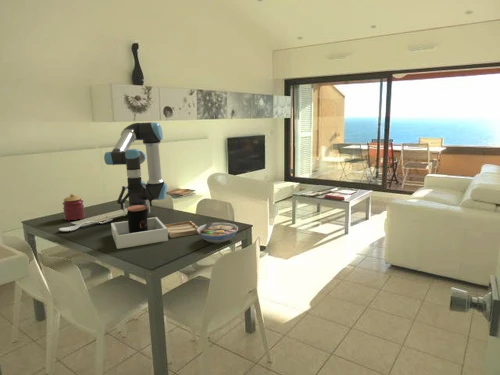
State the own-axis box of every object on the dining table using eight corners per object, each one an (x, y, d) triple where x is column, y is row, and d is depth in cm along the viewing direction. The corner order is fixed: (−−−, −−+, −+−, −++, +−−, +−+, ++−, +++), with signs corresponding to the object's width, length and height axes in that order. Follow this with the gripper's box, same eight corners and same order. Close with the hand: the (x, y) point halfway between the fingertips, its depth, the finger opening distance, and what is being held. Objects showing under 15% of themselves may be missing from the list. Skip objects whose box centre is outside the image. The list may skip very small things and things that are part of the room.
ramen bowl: (233, 250, 188) (232, 235, 186) (191, 248, 192) (190, 233, 190) (242, 234, 212) (242, 221, 211) (204, 233, 216) (204, 220, 215)
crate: (112, 234, 217) (111, 223, 215) (157, 227, 228) (156, 217, 227) (117, 248, 193) (116, 236, 192) (167, 240, 204) (167, 228, 203)
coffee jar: (143, 241, 204) (140, 210, 201) (125, 240, 207) (123, 209, 203) (151, 235, 215) (149, 205, 211) (135, 234, 217) (132, 204, 213)
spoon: (113, 223, 241) (113, 218, 240) (62, 234, 219) (61, 229, 218) (107, 220, 247) (107, 215, 247) (57, 231, 225) (56, 226, 224)
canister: (83, 215, 261) (81, 191, 258) (86, 219, 250) (83, 194, 247) (63, 218, 254) (60, 193, 251) (65, 222, 244) (62, 196, 240)
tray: (162, 228, 226) (162, 224, 226) (191, 224, 234) (190, 220, 233) (170, 238, 209) (170, 234, 208) (200, 233, 216) (200, 229, 216)
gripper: (111, 179, 195) (114, 218, 199) (158, 175, 206) (160, 212, 210) (109, 177, 202) (113, 215, 206) (155, 174, 212) (157, 209, 216)
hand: (137, 213), depth 208 cm, fingers open, 13 cm apart
